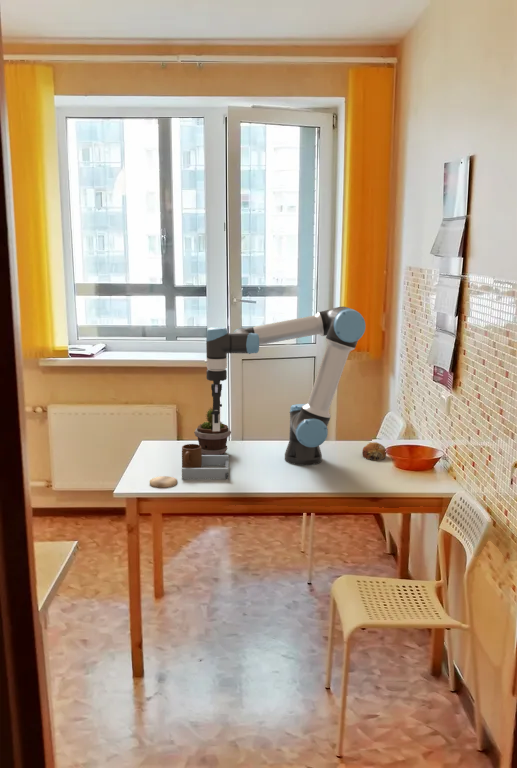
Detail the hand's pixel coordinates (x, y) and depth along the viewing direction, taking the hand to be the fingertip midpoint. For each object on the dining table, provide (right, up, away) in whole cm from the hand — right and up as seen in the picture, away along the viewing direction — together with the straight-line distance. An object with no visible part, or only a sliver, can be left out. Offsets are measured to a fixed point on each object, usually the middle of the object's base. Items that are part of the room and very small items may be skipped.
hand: (216, 427), depth 250 cm
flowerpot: (-3, -13, +26) cm, 29 cm away
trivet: (-19, -20, -10) cm, 29 cm away
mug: (-10, -17, +3) cm, 20 cm away
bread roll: (+64, -14, +25) cm, 70 cm away
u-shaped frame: (-4, -17, +3) cm, 18 cm away
